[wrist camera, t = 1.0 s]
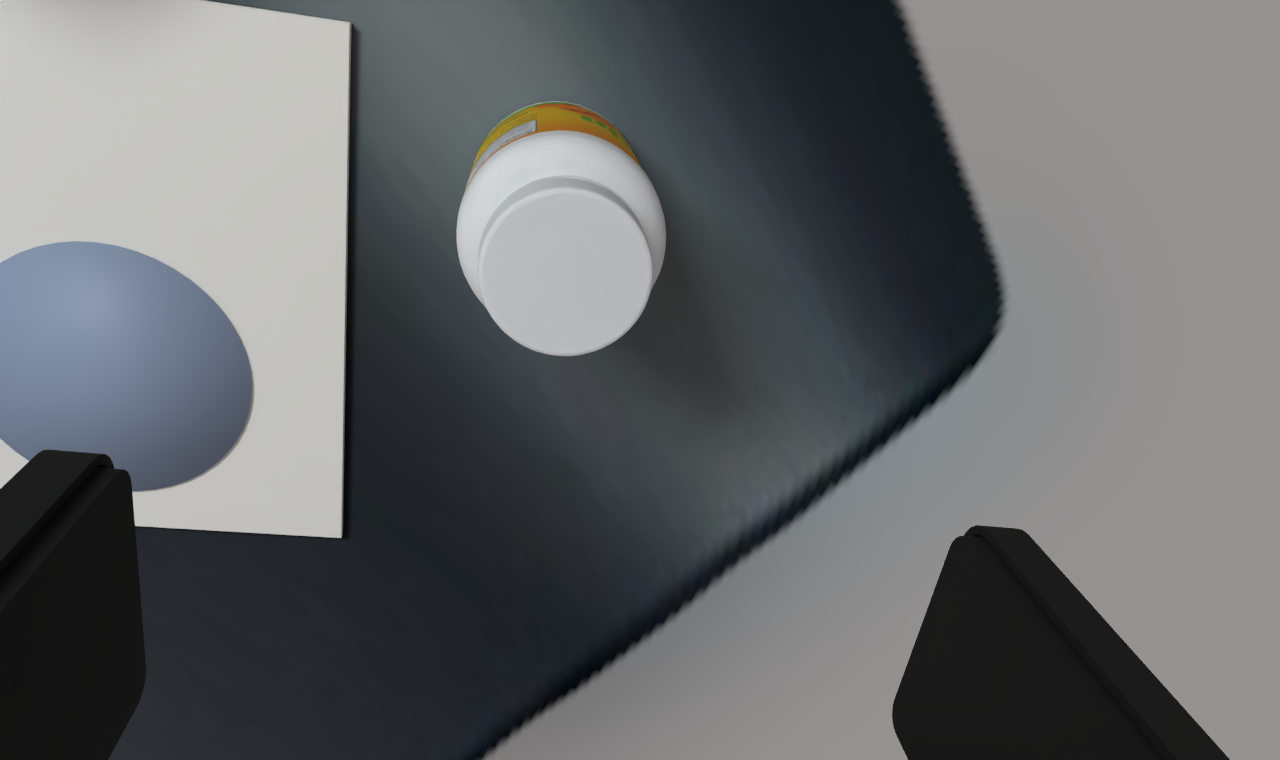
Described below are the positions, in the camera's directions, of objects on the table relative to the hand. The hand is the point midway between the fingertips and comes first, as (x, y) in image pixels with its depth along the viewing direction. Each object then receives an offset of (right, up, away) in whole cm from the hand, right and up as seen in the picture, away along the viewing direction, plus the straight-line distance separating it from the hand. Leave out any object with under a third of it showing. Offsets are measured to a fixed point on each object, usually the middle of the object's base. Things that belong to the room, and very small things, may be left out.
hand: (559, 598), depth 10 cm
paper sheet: (-15, +5, +18) cm, 24 cm away
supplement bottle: (-2, +9, +19) cm, 21 cm away
